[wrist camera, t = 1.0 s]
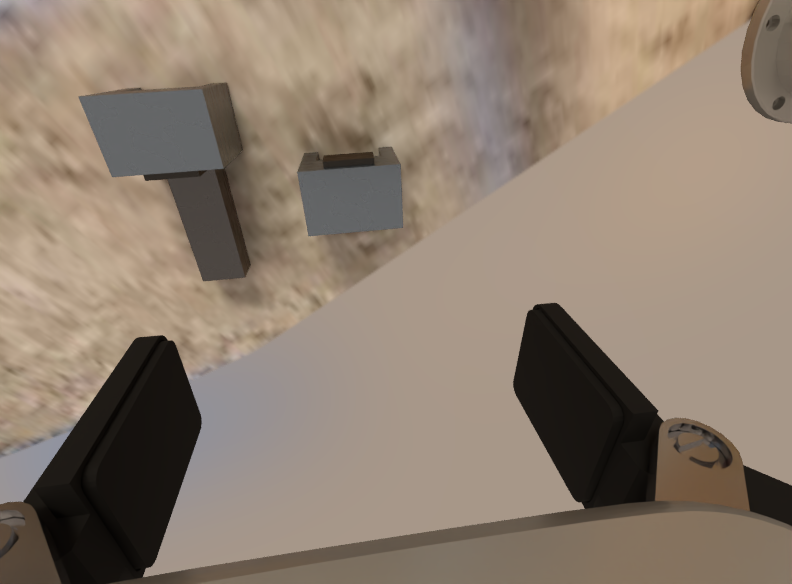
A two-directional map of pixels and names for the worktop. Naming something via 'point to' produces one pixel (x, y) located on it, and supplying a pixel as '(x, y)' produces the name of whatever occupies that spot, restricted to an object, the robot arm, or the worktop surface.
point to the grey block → (351, 192)
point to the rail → (211, 225)
